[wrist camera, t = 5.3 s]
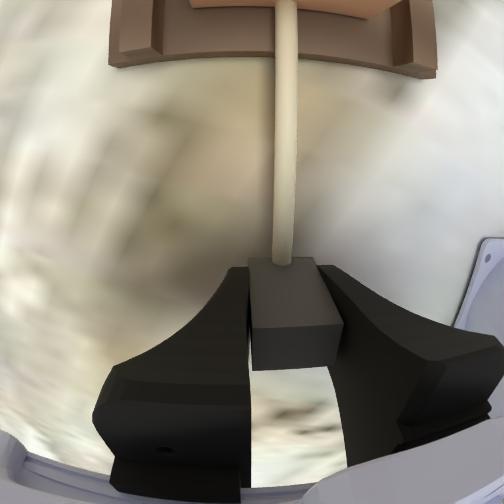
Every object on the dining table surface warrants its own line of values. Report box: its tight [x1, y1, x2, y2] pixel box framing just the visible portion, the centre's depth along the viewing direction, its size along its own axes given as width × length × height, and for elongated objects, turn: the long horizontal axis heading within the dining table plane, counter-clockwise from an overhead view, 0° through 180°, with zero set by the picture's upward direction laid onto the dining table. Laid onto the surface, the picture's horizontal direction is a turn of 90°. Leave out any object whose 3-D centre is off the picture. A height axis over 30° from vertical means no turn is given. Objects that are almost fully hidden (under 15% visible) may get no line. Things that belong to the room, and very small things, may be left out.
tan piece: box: [189, 0, 402, 371], centre depth 6 cm, size 16×6×5 cm, turn 0°
